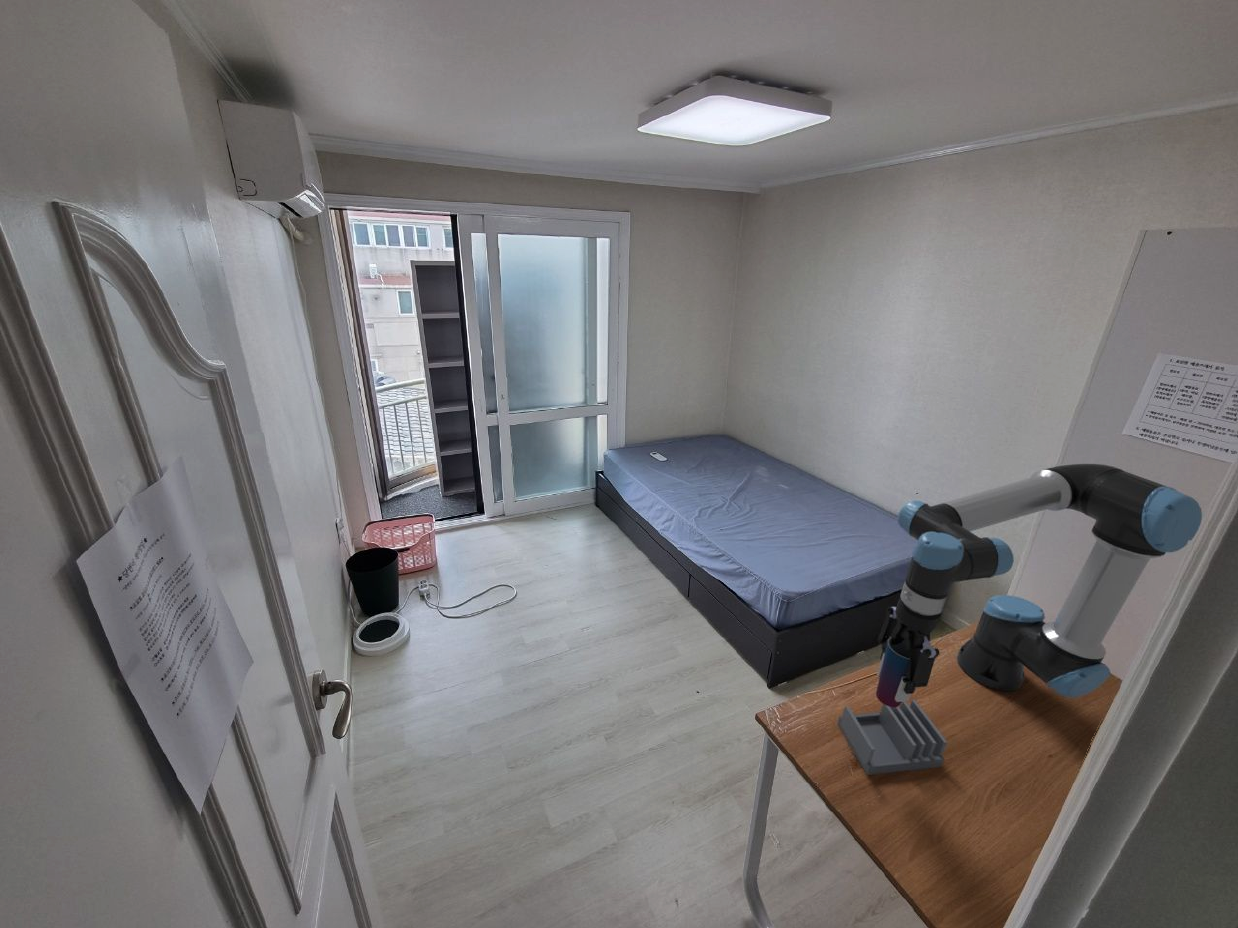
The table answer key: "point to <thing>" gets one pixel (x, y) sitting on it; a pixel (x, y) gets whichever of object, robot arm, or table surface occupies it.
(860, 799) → the table surface
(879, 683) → the cup
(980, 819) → the table surface
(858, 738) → the rack
